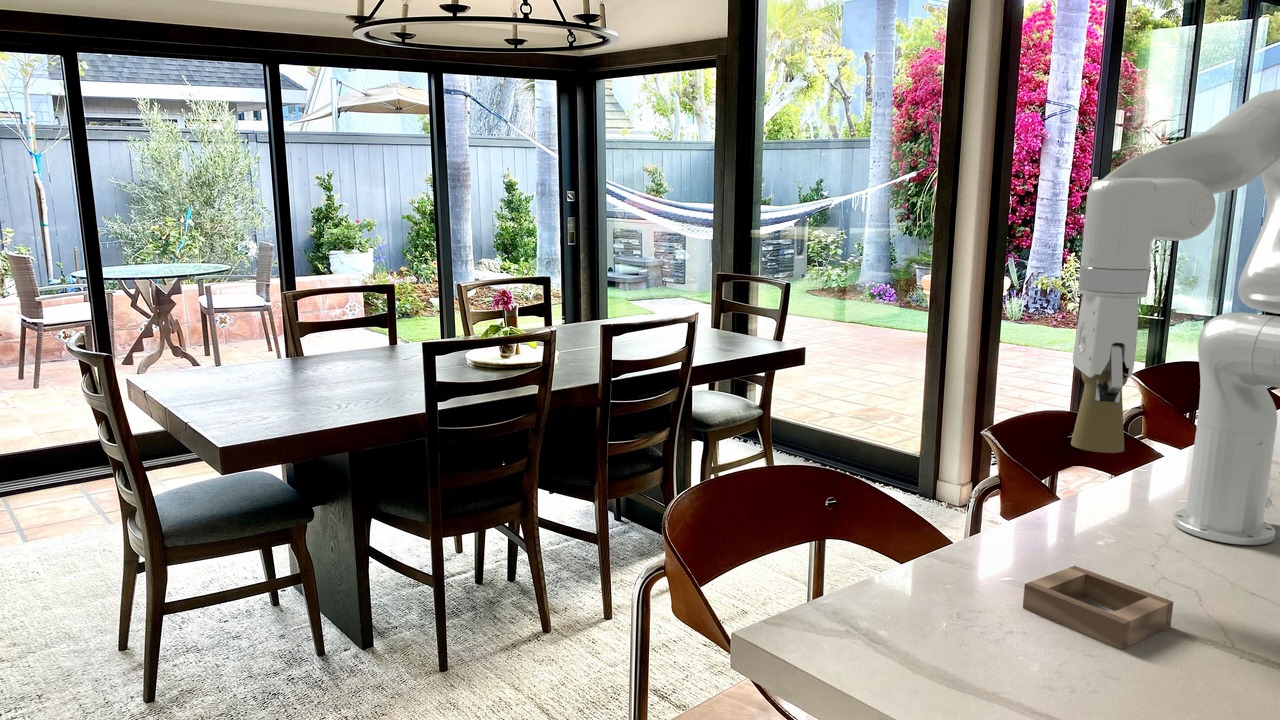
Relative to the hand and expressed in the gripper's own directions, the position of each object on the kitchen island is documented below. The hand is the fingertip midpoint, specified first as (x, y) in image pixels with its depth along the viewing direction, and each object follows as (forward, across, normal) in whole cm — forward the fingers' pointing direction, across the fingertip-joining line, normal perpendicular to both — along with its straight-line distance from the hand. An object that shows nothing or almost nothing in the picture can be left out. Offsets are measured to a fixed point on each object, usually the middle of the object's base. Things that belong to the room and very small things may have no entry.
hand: (1097, 428), depth 117 cm
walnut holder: (+19, +13, -1) cm, 23 cm away
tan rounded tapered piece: (+2, +1, 0) cm, 2 cm away
